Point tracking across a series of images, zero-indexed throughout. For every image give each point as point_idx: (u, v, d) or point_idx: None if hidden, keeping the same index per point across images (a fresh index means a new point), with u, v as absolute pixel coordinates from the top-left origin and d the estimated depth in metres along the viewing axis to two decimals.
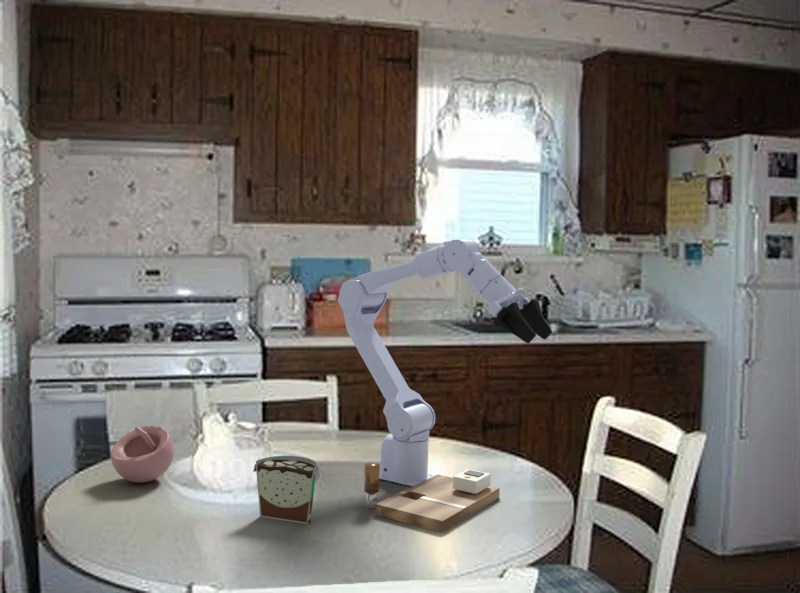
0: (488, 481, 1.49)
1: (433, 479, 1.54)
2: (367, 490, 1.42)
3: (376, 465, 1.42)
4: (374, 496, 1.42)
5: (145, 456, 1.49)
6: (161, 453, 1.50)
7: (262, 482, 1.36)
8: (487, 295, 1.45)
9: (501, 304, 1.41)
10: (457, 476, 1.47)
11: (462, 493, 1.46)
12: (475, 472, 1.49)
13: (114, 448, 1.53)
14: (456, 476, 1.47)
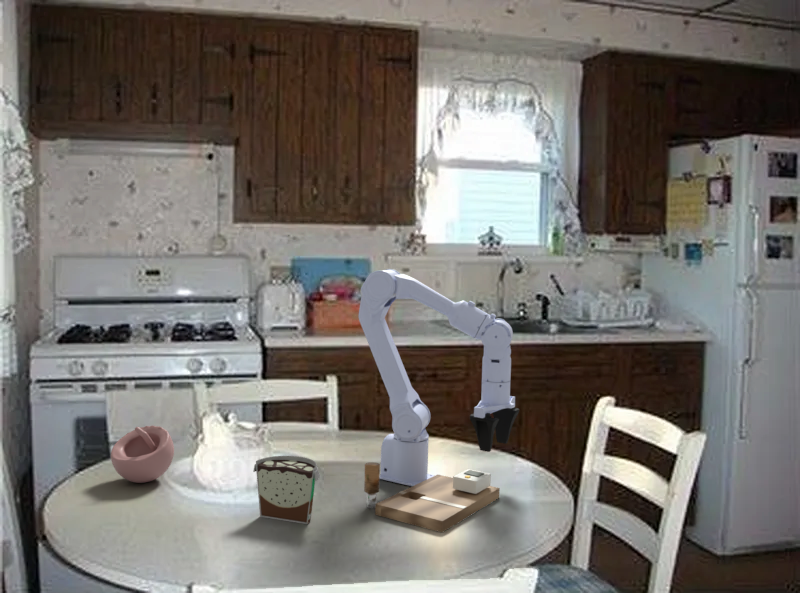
0: (488, 481, 1.49)
1: (433, 479, 1.54)
2: (367, 490, 1.42)
3: (376, 465, 1.42)
4: (374, 496, 1.42)
5: (145, 456, 1.49)
6: (161, 453, 1.50)
7: (263, 482, 1.36)
8: (485, 388, 1.53)
9: None
10: (457, 476, 1.47)
11: (462, 493, 1.46)
12: (475, 472, 1.49)
13: (114, 448, 1.53)
14: (456, 476, 1.47)
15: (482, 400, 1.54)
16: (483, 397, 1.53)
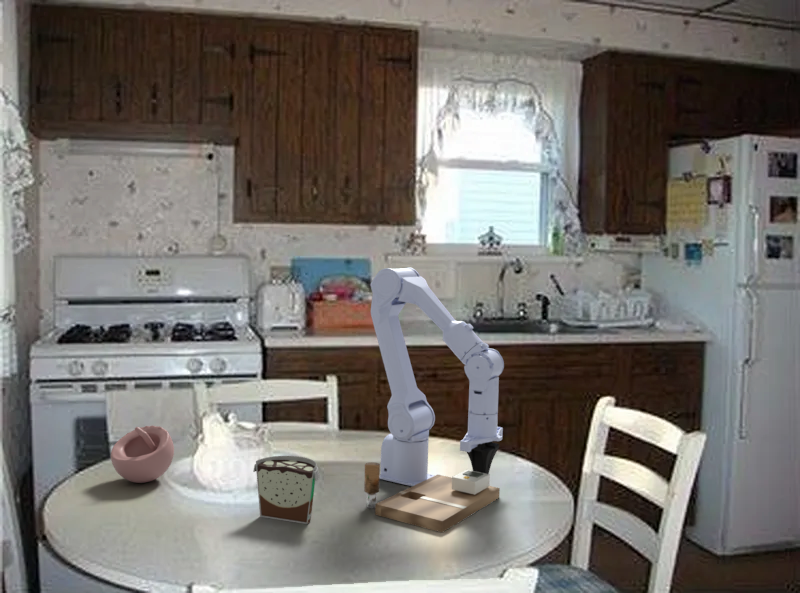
0: (486, 481, 1.48)
1: (433, 479, 1.54)
2: (367, 490, 1.42)
3: (376, 465, 1.42)
4: (374, 496, 1.42)
5: (145, 456, 1.49)
6: (161, 453, 1.50)
7: (263, 482, 1.36)
8: (472, 420, 1.49)
9: None
10: (456, 477, 1.47)
11: (462, 493, 1.46)
12: (474, 473, 1.49)
13: (114, 448, 1.53)
14: (455, 477, 1.47)
15: (469, 432, 1.50)
16: (470, 429, 1.49)
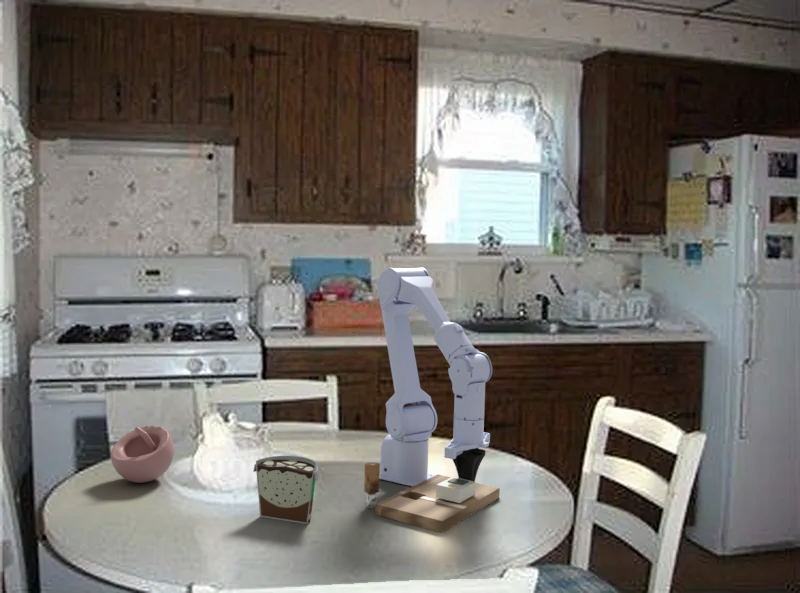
0: (472, 489, 1.43)
1: (433, 479, 1.54)
2: (367, 490, 1.42)
3: (376, 465, 1.42)
4: (374, 496, 1.42)
5: (145, 456, 1.49)
6: (161, 453, 1.50)
7: (263, 482, 1.36)
8: (457, 426, 1.44)
9: None
10: (440, 484, 1.42)
11: None
12: (459, 480, 1.44)
13: (114, 448, 1.53)
14: (439, 484, 1.42)
15: (454, 438, 1.45)
16: (455, 435, 1.45)
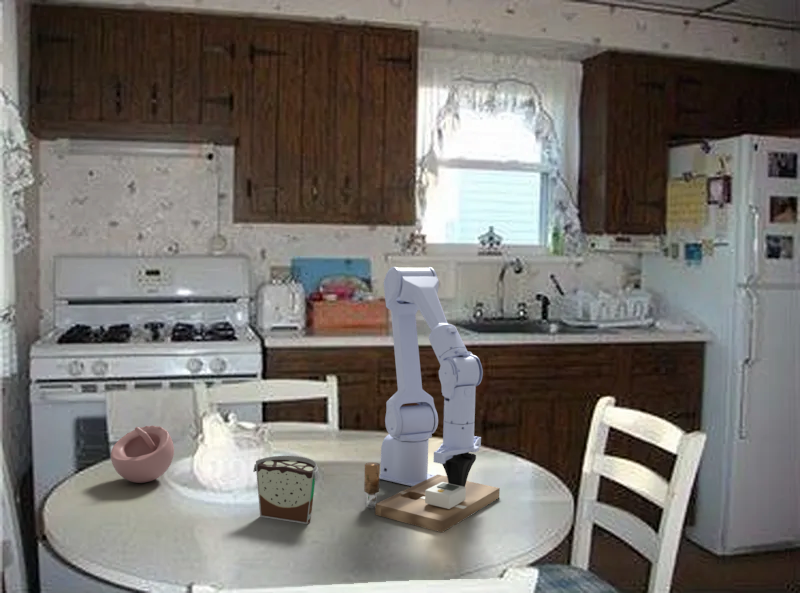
0: (462, 495, 1.40)
1: (433, 479, 1.54)
2: (367, 490, 1.42)
3: (376, 465, 1.42)
4: (374, 496, 1.42)
5: (145, 456, 1.49)
6: (161, 453, 1.50)
7: (262, 482, 1.36)
8: (447, 430, 1.41)
9: None
10: (430, 490, 1.39)
11: None
12: (449, 485, 1.41)
13: (114, 448, 1.53)
14: (429, 490, 1.39)
15: (444, 443, 1.42)
16: (445, 440, 1.41)
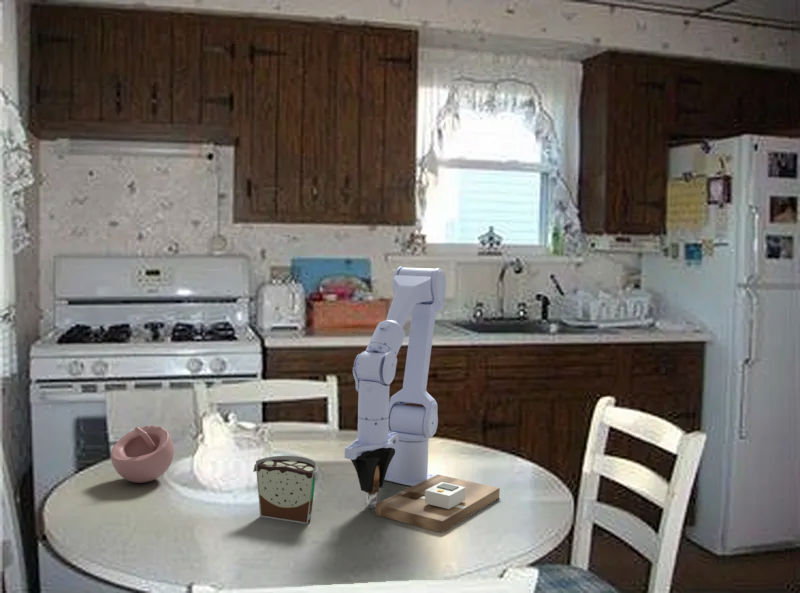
0: (462, 495, 1.40)
1: (433, 479, 1.54)
2: None
3: None
4: (374, 496, 1.42)
5: (145, 456, 1.49)
6: (161, 453, 1.50)
7: (263, 482, 1.36)
8: (360, 425, 1.40)
9: None
10: (429, 490, 1.39)
11: None
12: (449, 485, 1.41)
13: (114, 448, 1.53)
14: (428, 490, 1.39)
15: (358, 438, 1.41)
16: (358, 435, 1.41)
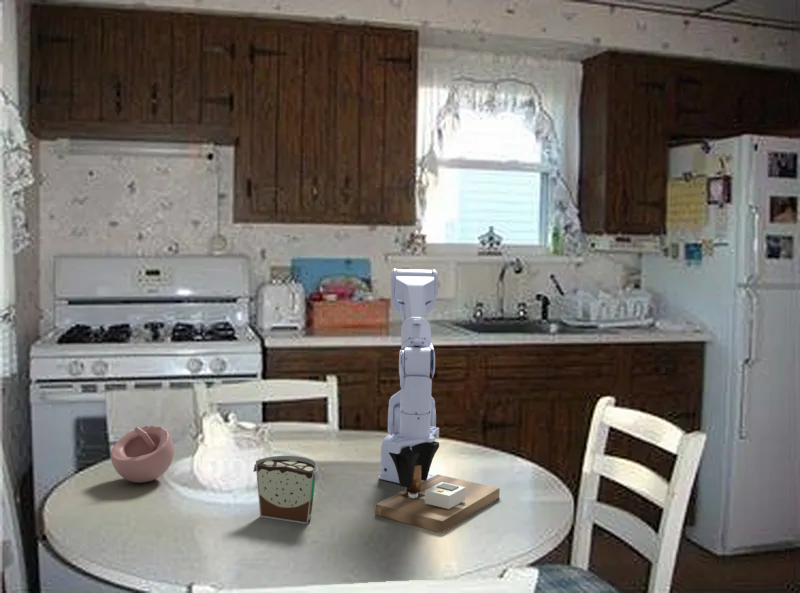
0: (462, 495, 1.40)
1: (433, 479, 1.54)
2: (409, 490, 1.43)
3: (418, 465, 1.43)
4: (416, 495, 1.43)
5: (145, 456, 1.49)
6: (160, 453, 1.50)
7: (262, 482, 1.36)
8: (403, 420, 1.41)
9: None
10: (429, 490, 1.39)
11: None
12: (449, 485, 1.41)
13: (114, 448, 1.53)
14: (428, 490, 1.39)
15: (400, 433, 1.42)
16: (401, 430, 1.42)
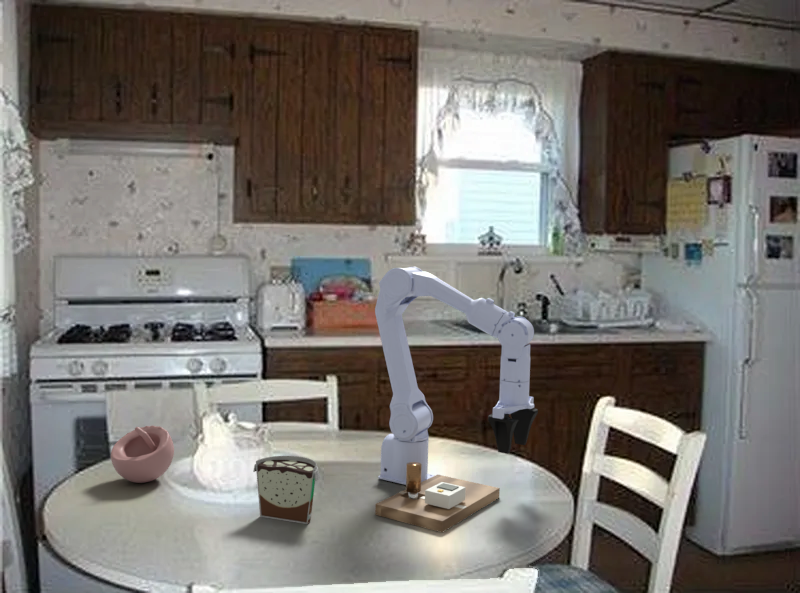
0: (462, 495, 1.40)
1: (433, 479, 1.54)
2: (409, 490, 1.43)
3: (418, 465, 1.43)
4: (416, 495, 1.43)
5: (145, 456, 1.49)
6: (161, 453, 1.50)
7: (263, 482, 1.36)
8: (504, 388, 1.48)
9: None
10: (429, 490, 1.39)
11: None
12: (449, 485, 1.41)
13: (114, 448, 1.53)
14: (428, 490, 1.39)
15: (500, 400, 1.49)
16: (501, 397, 1.49)
